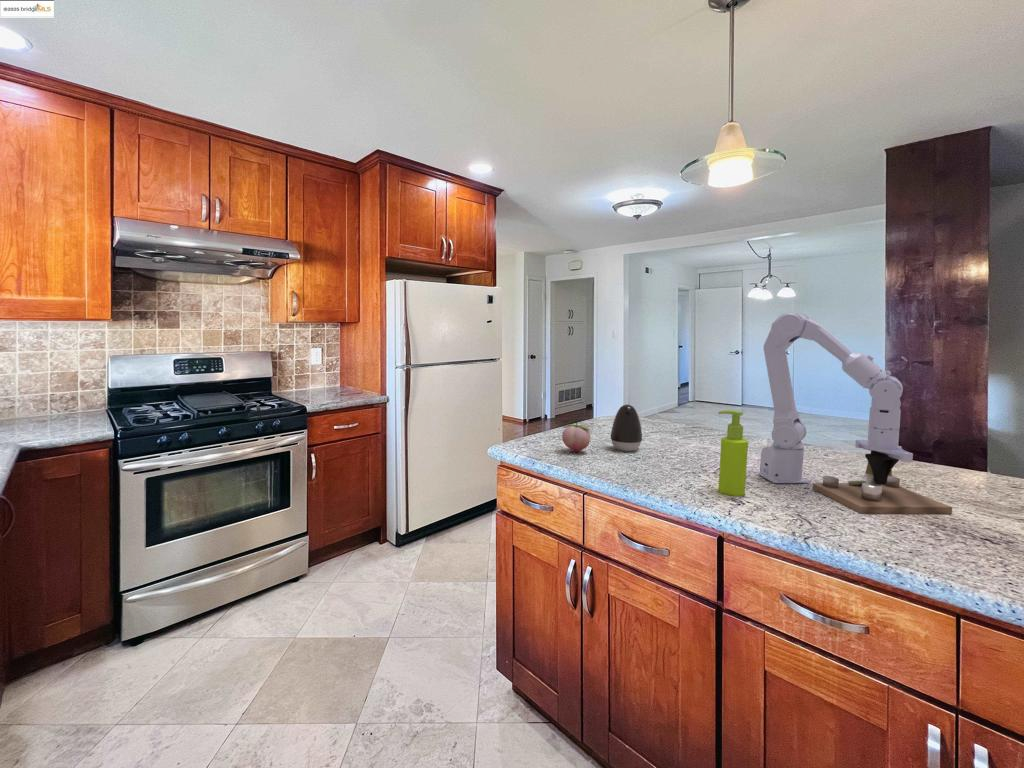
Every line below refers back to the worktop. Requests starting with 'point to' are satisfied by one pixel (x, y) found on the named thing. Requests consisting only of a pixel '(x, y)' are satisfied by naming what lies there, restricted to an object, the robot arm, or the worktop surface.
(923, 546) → the worktop surface
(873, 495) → the lever handle
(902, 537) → the worktop surface
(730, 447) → the soap dispenser
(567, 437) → the decorative fruit
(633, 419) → the black rounded dome
